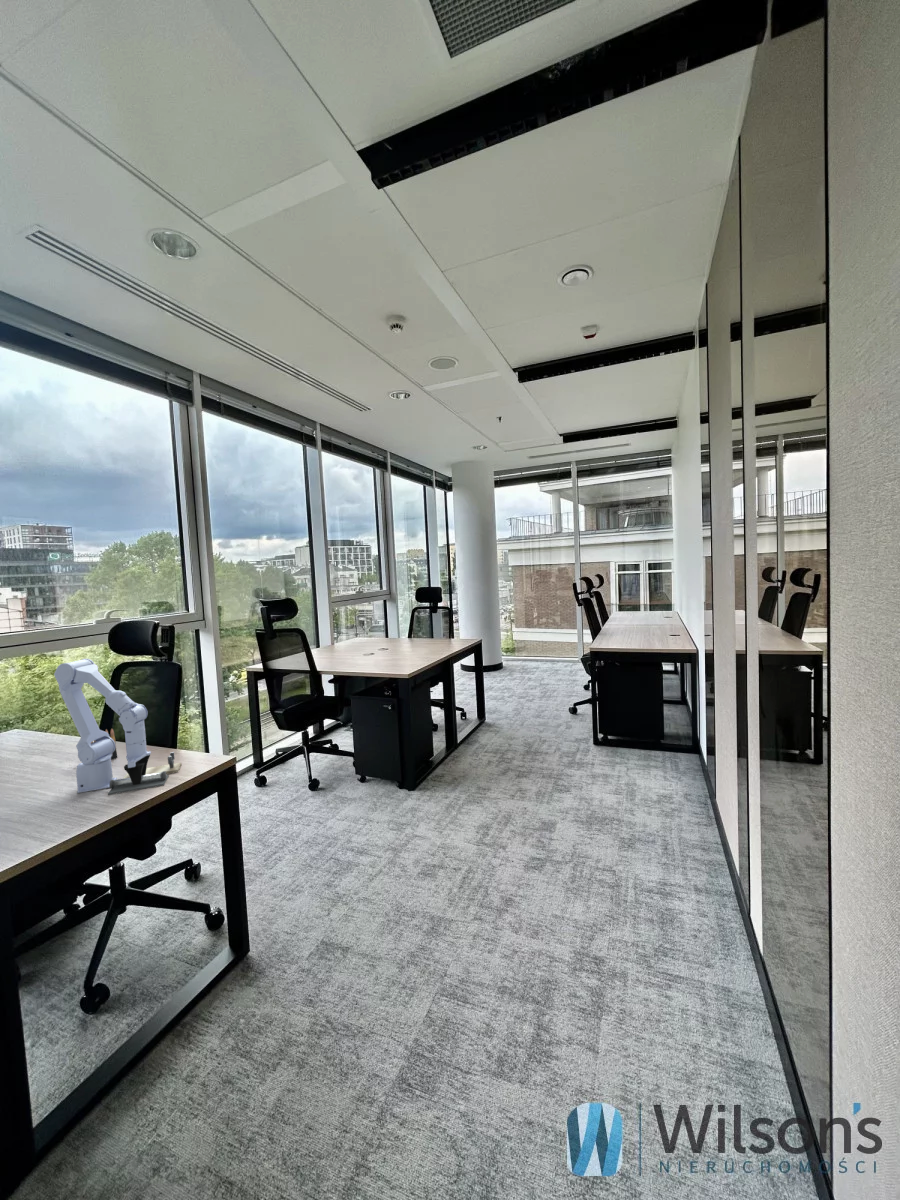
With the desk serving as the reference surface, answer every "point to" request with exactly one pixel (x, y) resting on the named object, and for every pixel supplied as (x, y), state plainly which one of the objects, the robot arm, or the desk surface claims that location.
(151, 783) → the rubber mat
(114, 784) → the rail
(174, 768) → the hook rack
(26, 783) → the desk surface
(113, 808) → the desk surface
